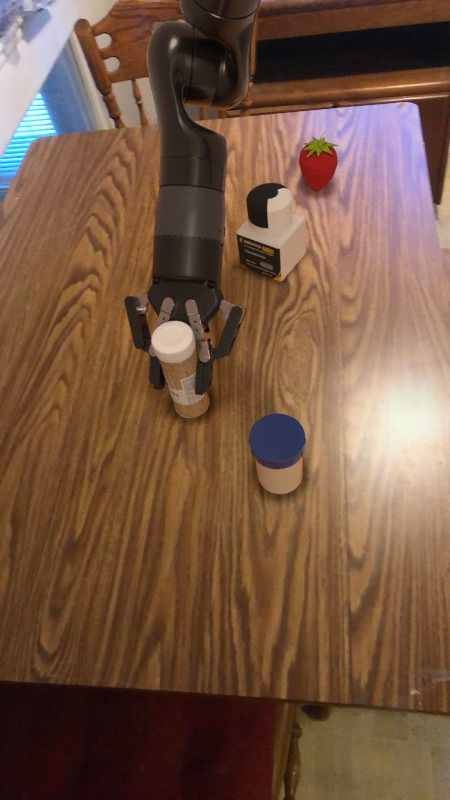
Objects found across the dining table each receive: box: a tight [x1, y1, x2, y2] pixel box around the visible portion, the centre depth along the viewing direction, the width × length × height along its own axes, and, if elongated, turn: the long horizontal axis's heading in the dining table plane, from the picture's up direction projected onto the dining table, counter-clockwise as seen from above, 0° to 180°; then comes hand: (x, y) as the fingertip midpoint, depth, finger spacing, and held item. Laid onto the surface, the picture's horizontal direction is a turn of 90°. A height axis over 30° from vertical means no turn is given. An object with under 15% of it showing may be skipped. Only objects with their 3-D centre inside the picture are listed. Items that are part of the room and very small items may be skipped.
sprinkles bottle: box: [151, 321, 210, 419], centre depth 65 cm, size 5×5×13 cm
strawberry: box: [298, 131, 339, 192], centre depth 87 cm, size 6×8×10 cm
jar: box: [254, 457, 304, 495], centre depth 60 cm, size 5×5×8 cm
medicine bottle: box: [235, 182, 307, 282], centre depth 78 cm, size 7×7×12 cm
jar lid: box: [248, 413, 307, 470], centre depth 57 cm, size 6×6×2 cm
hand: (179, 390), depth 64 cm, fingers closed on sprinkles bottle, 4 cm apart
